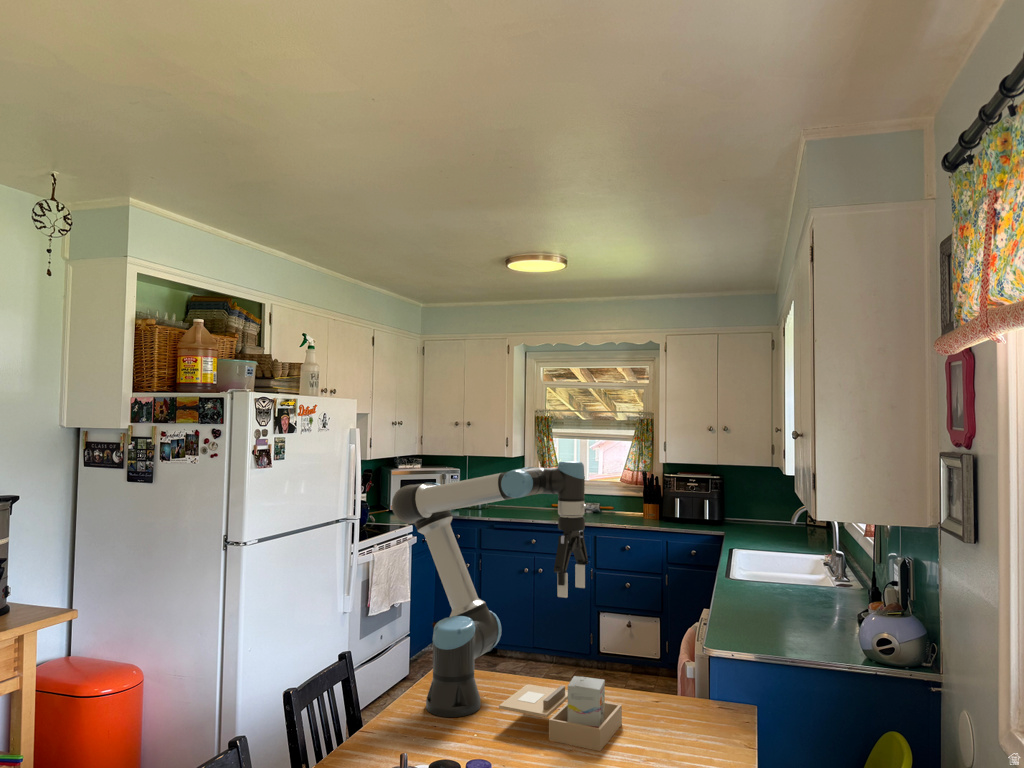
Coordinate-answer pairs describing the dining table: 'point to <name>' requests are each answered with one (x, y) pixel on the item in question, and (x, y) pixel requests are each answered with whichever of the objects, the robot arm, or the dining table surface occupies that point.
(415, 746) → the dining table surface
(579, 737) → the box
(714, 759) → the dining table surface
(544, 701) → the lid
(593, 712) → the ink box
